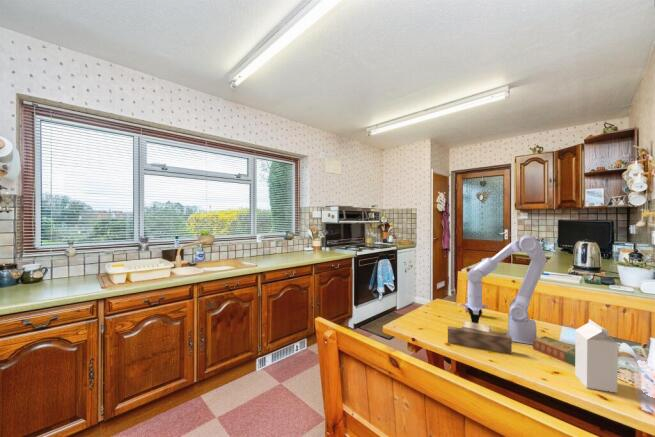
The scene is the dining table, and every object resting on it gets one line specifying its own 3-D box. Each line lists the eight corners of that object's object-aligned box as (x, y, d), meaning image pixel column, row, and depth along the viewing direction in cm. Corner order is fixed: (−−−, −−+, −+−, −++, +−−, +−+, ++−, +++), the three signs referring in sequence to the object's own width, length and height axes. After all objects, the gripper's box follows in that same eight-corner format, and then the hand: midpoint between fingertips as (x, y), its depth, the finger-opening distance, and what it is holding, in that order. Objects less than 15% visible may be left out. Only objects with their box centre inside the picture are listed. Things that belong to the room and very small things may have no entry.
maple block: (490, 337, 116) (490, 326, 115) (488, 344, 110) (488, 332, 110) (464, 331, 122) (464, 320, 121) (461, 337, 116) (461, 326, 116)
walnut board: (510, 351, 104) (510, 335, 104) (511, 354, 102) (511, 338, 101) (447, 340, 113) (447, 326, 113) (447, 342, 111) (447, 328, 111)
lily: (492, 320, 136) (489, 300, 141) (482, 316, 130) (478, 296, 134) (468, 321, 145) (466, 302, 149) (457, 317, 138) (455, 298, 143)
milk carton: (586, 388, 82) (587, 326, 81) (574, 375, 88) (575, 317, 88) (617, 393, 79) (618, 329, 79) (603, 379, 86) (603, 320, 85)
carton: (545, 345, 108) (545, 335, 108) (598, 366, 94) (598, 354, 94) (532, 350, 105) (532, 339, 105) (585, 372, 90) (585, 359, 90)
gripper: (464, 290, 131) (464, 317, 131) (465, 299, 118) (465, 329, 118) (480, 291, 128) (481, 320, 128) (484, 301, 115) (484, 332, 115)
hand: (474, 325), depth 123 cm, fingers closed
